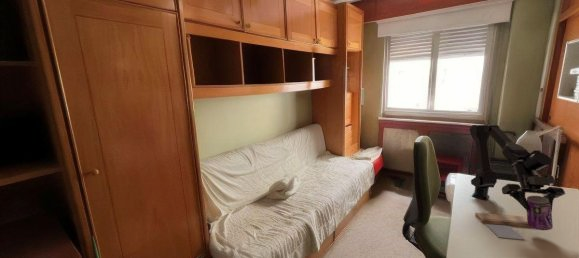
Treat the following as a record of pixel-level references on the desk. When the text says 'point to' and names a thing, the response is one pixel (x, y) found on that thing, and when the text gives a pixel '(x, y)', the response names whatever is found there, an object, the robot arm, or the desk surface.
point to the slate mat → (504, 232)
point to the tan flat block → (502, 219)
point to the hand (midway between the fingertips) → (539, 211)
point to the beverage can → (539, 213)
